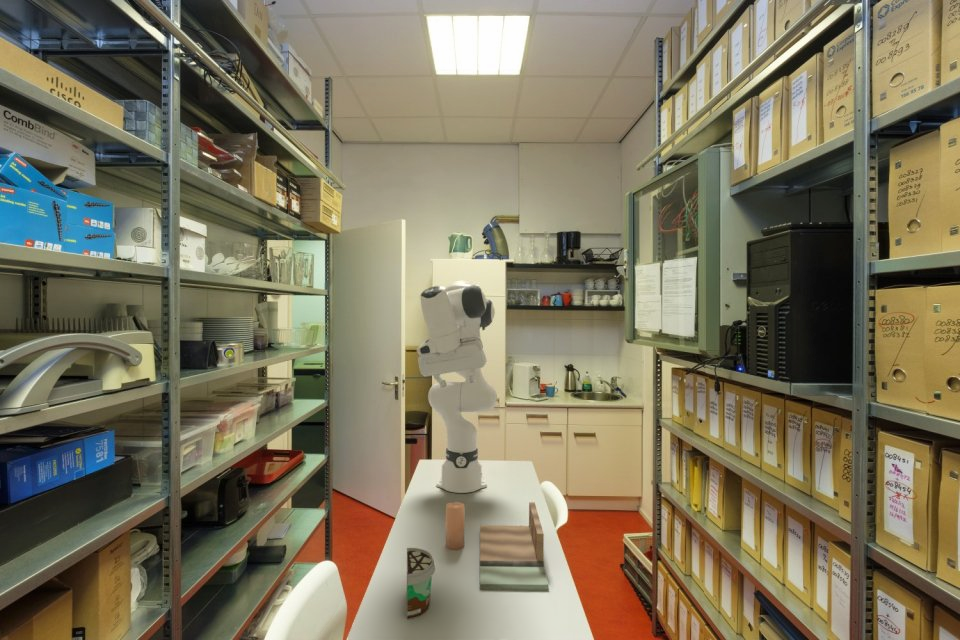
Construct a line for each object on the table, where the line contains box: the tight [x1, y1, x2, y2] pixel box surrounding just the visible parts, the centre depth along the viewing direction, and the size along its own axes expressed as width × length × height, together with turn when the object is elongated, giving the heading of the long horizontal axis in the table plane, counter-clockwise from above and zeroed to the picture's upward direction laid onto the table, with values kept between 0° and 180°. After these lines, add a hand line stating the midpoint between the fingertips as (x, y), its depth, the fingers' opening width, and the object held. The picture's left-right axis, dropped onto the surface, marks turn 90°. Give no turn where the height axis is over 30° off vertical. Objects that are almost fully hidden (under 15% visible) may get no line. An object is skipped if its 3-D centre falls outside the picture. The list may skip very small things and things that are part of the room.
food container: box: [406, 547, 436, 620], centre depth 104 cm, size 12×6×10 cm, turn 9°
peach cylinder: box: [445, 501, 466, 551], centre depth 131 cm, size 5×5×11 cm
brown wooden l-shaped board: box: [479, 501, 549, 591], centre depth 124 cm, size 29×16×9 cm, turn 0°
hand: (458, 384), depth 141 cm, fingers open, 8 cm apart
